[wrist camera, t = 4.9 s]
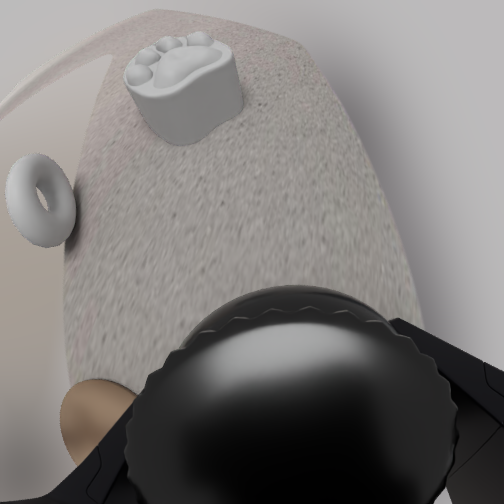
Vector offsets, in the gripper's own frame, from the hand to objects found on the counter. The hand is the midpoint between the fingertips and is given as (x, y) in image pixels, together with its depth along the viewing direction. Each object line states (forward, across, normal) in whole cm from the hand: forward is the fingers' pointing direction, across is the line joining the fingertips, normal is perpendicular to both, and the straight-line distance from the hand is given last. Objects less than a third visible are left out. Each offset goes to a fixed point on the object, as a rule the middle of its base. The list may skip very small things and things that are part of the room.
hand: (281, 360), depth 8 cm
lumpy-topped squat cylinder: (+28, +4, -11) cm, 31 cm away
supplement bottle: (+4, 0, +6) cm, 7 cm away
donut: (+20, +19, -3) cm, 28 cm away
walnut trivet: (+4, +16, +13) cm, 21 cm away
